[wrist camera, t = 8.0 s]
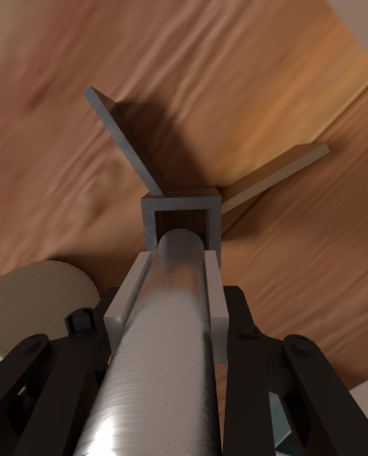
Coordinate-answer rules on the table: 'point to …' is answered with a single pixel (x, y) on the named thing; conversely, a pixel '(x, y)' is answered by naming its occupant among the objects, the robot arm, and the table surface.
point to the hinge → (193, 196)
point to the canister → (41, 301)
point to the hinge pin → (161, 366)
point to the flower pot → (281, 429)
